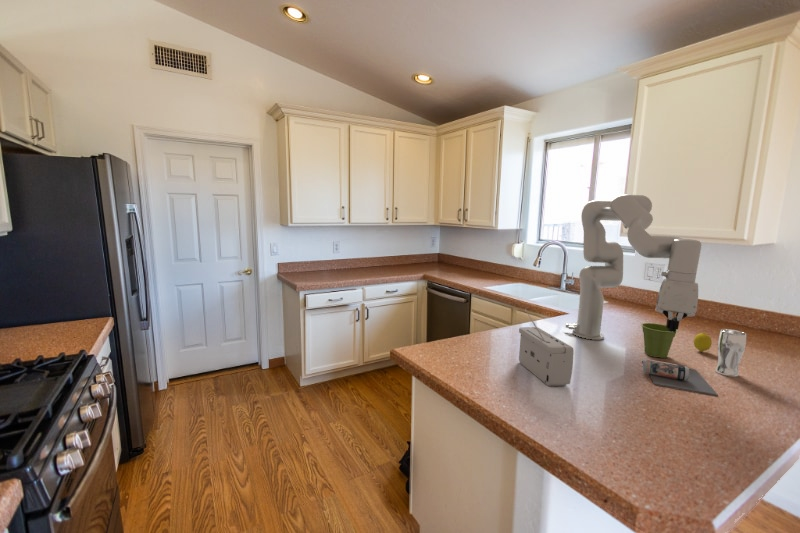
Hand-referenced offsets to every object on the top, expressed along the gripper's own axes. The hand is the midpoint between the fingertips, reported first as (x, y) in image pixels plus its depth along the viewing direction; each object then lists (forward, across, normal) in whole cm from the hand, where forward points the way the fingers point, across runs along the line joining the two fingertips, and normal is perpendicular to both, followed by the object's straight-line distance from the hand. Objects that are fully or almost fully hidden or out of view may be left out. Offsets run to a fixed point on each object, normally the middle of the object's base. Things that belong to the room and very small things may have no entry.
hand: (671, 330), depth 121 cm
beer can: (+13, -7, -3) cm, 15 cm away
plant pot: (+16, +2, +21) cm, 27 cm away
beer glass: (+16, +21, +12) cm, 29 cm away
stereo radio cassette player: (+16, -38, -19) cm, 46 cm away
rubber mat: (+16, +3, -1) cm, 16 cm away
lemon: (+16, +20, +34) cm, 43 cm away
